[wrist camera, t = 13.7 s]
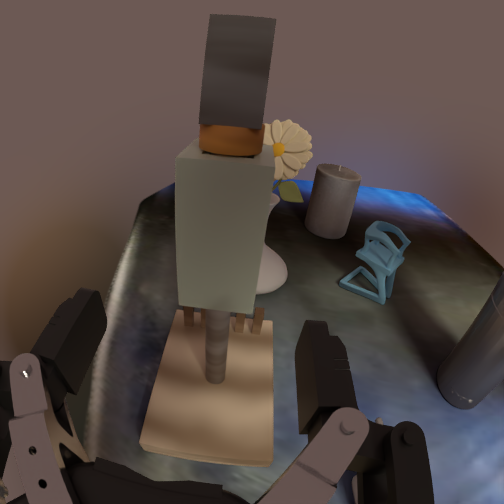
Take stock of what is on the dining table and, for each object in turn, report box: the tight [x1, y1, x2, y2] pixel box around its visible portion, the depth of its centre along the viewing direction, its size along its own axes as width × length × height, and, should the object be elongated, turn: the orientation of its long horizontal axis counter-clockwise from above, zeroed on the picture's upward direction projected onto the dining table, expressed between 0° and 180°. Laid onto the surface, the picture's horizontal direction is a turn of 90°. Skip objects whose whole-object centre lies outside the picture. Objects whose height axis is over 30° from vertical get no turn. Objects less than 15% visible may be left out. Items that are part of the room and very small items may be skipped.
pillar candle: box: [305, 164, 361, 239], centre depth 60 cm, size 10×10×15 cm
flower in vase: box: [256, 120, 313, 294], centre depth 40 cm, size 13×11×25 cm
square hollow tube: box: [175, 138, 276, 314], centre depth 19 cm, size 5×5×10 cm
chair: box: [339, 221, 411, 305], centre depth 44 cm, size 8×8×12 cm
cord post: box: [139, 14, 276, 467], centre depth 21 cm, size 18×12×32 cm, turn 178°
